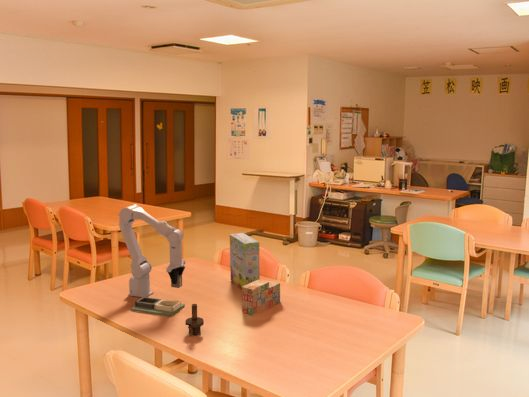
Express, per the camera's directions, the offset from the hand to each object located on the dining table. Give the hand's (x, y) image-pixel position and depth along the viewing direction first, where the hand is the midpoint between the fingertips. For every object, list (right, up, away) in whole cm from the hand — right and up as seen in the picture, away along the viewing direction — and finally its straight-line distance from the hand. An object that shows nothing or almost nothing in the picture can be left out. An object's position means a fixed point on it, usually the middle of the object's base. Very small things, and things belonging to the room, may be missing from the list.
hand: (176, 282), depth 240 cm
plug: (0, -2, 0) cm, 2 cm away
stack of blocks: (+41, -10, -10) cm, 43 cm away
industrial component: (+15, -14, -37) cm, 43 cm away
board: (-6, -10, -12) cm, 17 cm away
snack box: (+32, -5, +18) cm, 37 cm away
